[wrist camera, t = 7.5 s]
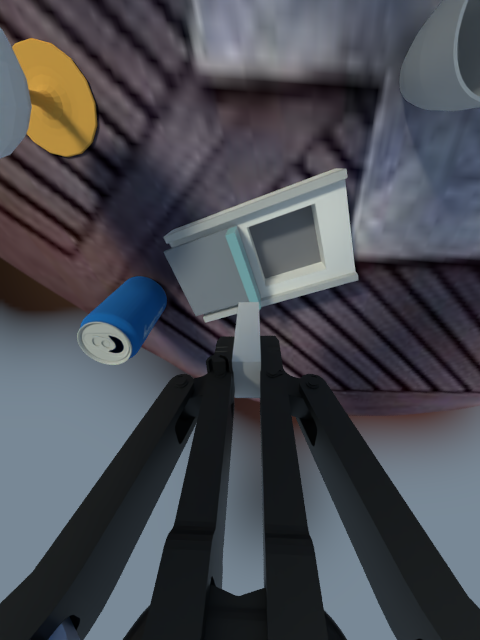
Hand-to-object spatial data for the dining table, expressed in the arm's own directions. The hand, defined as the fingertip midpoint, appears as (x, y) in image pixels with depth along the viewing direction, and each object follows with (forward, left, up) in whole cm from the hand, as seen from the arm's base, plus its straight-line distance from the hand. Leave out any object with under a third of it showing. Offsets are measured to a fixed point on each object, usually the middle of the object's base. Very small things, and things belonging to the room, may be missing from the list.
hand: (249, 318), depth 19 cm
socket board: (0, +2, -16) cm, 16 cm away
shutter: (0, -5, -13) cm, 13 cm away
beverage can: (+1, -16, -16) cm, 23 cm away
